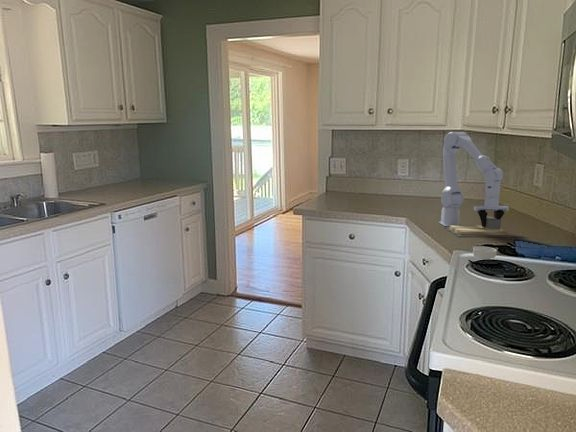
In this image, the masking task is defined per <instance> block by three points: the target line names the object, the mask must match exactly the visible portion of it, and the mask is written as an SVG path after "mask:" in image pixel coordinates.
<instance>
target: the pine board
mask: <svg viewBox="0 0 576 432" xmlns="http://www.w3.org/2000/svg"><path fill="white" fill-rule="evenodd" d="M443 229H445V230H446V231H448V232H450V233H451V234H453V235H455V236H456V237H458V238H514V235H512V234H509V233H508V231H507V230H505V229H502V228H500V230H488V229H485V228H483V227H481V224H477V225H476V224H475V225H474V224H469V225H468V224H463V225H462V224H460V225H449V226H444V228H443Z"/></svg>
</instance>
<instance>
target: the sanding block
mask: <svg viewBox="0 0 576 432" xmlns="http://www.w3.org/2000/svg"><path fill="white" fill-rule="evenodd" d="M480 225H481V227H482V223H481V222H480ZM501 225H502V220H501V219H500V220H499V219H496V218H494V216H487V218H486V226H485V227H483V228H485V229H488V230H500V229H501Z"/></svg>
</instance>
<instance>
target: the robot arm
mask: <svg viewBox="0 0 576 432" xmlns="http://www.w3.org/2000/svg"><path fill="white" fill-rule="evenodd" d="M461 148H462V149H465V151H466V152H467V153H468V154H469V155H470V156H471V157H472V158H473V160H475V161H474V164H475V166H476V167H477V168H478V169H479V171H480V172H481V173H482V174H483V180H484V182H485V189H484V190H485V191H484V203H483V204H484V205H473V211H475V212H477V214H478V216H479V218H480V224H481V223H482V227H485V226H486V218H487V217H488V214H489V213H488V212H489V211H490V212H491V211H492V212H493V217H494V218H496V219H499V220H501V219H502V218H503V216H504V215H505V212H509V210H510V207H509V206H508V205H500V202H499V201H500V194H501V193H500V192H501V181H502V180H503V179H504V177H505V174H504V171H503V169H502V168H499V167H497V166H496V165H495V164H494V163H493V162H492V161H491V157H490V156H487V155H484V154H482V153H481V152H480V150H479V149H478V148H477V146H476V145H475V143H474V142H473V141H472V139H471V136H469V134H468V133H467V132H466V131H460V132H459V131H457V132H456V131H450V132H448V133H447V134H446V135H445V136H444V137H443V146H442V152H441V153H442V161H443V164H442V165H443V174H444V176H443V177H444V186H445V187H444V189H443V190H442V191H441V197H440V203H441V204H442V208H441V212H440V213H441V216H440V221H438V223H439V224H440V225H442V226H444V227H449V225H461V224H459V223H460V208H461V205H462V204H464V199H465V198H464V195H463V193H462V189H461V188H460V187H459V185H458V176H457V163H456V153H457V151H458V150H460V149H461ZM487 211H488V212H487Z"/></svg>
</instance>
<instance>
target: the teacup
mask: <svg viewBox="0 0 576 432" xmlns="http://www.w3.org/2000/svg"><path fill="white" fill-rule="evenodd" d="M497 251H498V250H497V248H495V247H489V246H484V245H483V246H481V245H480V246H479V245H478V246H477V245H476V246H473V247H472V253H473V257H475V258H478V259H490V258H494V257H495V258H496V256H497ZM495 258H494V259H495Z"/></svg>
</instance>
